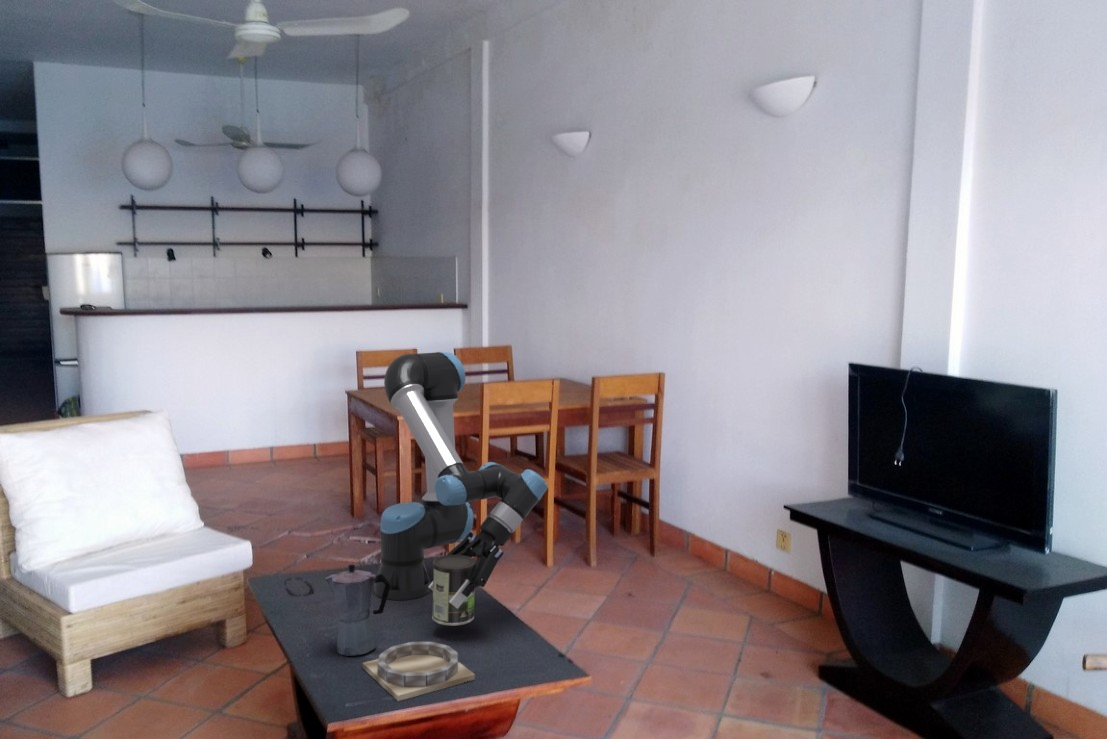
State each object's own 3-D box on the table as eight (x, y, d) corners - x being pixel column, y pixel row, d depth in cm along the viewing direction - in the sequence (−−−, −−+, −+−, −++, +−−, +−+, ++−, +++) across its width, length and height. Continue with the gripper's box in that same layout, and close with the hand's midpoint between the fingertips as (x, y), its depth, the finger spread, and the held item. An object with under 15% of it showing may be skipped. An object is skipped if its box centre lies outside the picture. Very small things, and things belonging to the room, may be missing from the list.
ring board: (362, 668, 194) (362, 652, 194) (435, 649, 205) (436, 634, 204) (397, 701, 180) (398, 684, 179) (474, 679, 190) (475, 663, 190)
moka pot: (330, 639, 209) (330, 557, 207) (395, 641, 209) (395, 559, 207) (318, 656, 200) (318, 570, 197) (386, 658, 199) (386, 573, 197)
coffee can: (479, 611, 218) (481, 556, 216) (467, 628, 208) (468, 570, 206) (439, 606, 220) (441, 552, 218) (425, 623, 210) (426, 566, 208)
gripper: (534, 546, 212) (475, 622, 205) (486, 521, 230) (430, 590, 223) (516, 528, 208) (455, 605, 201) (468, 504, 226) (411, 574, 219)
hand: (442, 597), depth 212 cm, fingers closed on coffee can, 10 cm apart
